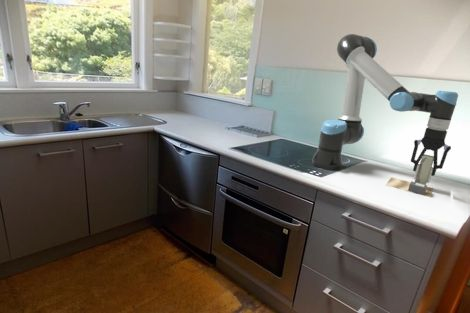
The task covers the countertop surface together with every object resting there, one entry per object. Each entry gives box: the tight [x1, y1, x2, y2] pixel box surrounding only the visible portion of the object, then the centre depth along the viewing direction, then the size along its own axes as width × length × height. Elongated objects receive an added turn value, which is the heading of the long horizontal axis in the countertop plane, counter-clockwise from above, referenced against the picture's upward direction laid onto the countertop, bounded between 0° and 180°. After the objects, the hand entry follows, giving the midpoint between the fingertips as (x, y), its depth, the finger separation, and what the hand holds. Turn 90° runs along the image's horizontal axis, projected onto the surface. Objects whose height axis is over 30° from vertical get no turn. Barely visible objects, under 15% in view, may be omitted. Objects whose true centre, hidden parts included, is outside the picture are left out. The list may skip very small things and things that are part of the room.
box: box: [414, 153, 434, 185], centre depth 127 cm, size 5×4×13 cm
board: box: [385, 176, 434, 198], centre depth 129 cm, size 17×14×1 cm
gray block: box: [407, 181, 428, 196], centre depth 123 cm, size 6×5×3 cm
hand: (421, 180), depth 128 cm, fingers closed on box, 4 cm apart
